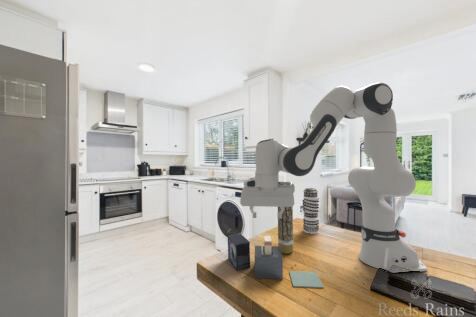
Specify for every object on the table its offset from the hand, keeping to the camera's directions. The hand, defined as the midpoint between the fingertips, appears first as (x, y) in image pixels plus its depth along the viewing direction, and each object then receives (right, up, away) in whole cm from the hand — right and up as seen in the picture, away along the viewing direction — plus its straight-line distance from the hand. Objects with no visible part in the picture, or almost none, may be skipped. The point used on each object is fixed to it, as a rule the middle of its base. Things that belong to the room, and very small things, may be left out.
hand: (266, 217), depth 79 cm
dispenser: (0, -21, 0) cm, 21 cm away
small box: (-11, -21, +7) cm, 25 cm away
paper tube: (+11, -21, +17) cm, 29 cm away
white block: (0, -18, 0) cm, 18 cm away
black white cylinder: (+32, -20, +42) cm, 56 cm away
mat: (+13, -21, -5) cm, 25 cm away
